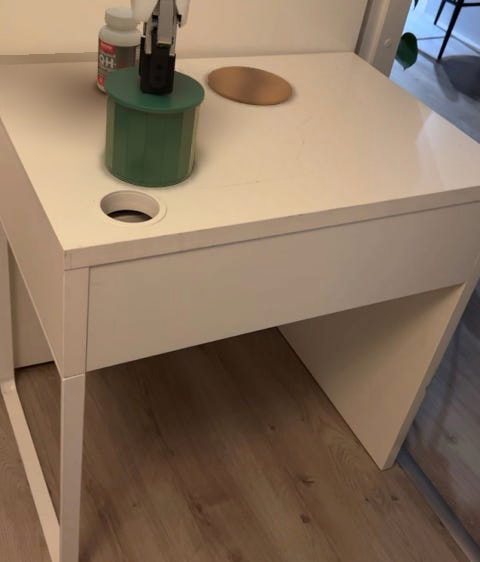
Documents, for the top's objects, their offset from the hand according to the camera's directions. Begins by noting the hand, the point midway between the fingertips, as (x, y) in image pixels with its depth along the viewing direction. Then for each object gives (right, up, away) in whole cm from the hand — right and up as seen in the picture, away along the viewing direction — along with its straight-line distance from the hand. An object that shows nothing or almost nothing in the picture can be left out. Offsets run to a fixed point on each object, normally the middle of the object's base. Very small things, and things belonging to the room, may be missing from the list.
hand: (155, 82), depth 74 cm
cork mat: (+10, +7, +26) cm, 29 cm away
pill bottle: (-7, +4, +20) cm, 22 cm away
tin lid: (0, -1, 0) cm, 1 cm away
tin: (-1, -7, +6) cm, 9 cm away
